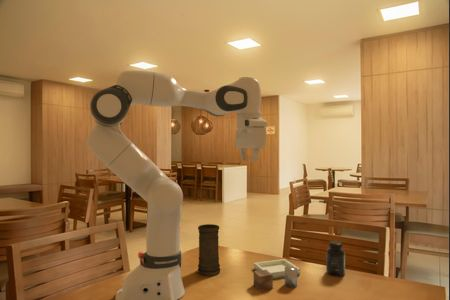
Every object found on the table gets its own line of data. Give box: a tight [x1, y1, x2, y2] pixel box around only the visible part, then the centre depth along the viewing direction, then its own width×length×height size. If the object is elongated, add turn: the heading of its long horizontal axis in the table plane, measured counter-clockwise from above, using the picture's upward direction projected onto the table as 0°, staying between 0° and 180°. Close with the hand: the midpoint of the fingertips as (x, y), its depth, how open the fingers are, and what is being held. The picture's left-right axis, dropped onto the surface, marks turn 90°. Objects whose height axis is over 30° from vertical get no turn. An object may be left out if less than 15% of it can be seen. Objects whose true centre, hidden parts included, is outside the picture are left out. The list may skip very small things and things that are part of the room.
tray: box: [253, 258, 301, 280], centre depth 132 cm, size 14×12×2 cm
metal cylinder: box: [284, 266, 298, 289], centre depth 119 cm, size 4×4×6 cm
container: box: [197, 223, 221, 277], centre depth 132 cm, size 9×9×18 cm
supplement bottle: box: [325, 240, 346, 277], centre depth 130 cm, size 7×7×12 cm
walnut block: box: [253, 270, 274, 291], centre depth 118 cm, size 5×5×5 cm
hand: (249, 161), depth 122 cm, fingers open, 8 cm apart
